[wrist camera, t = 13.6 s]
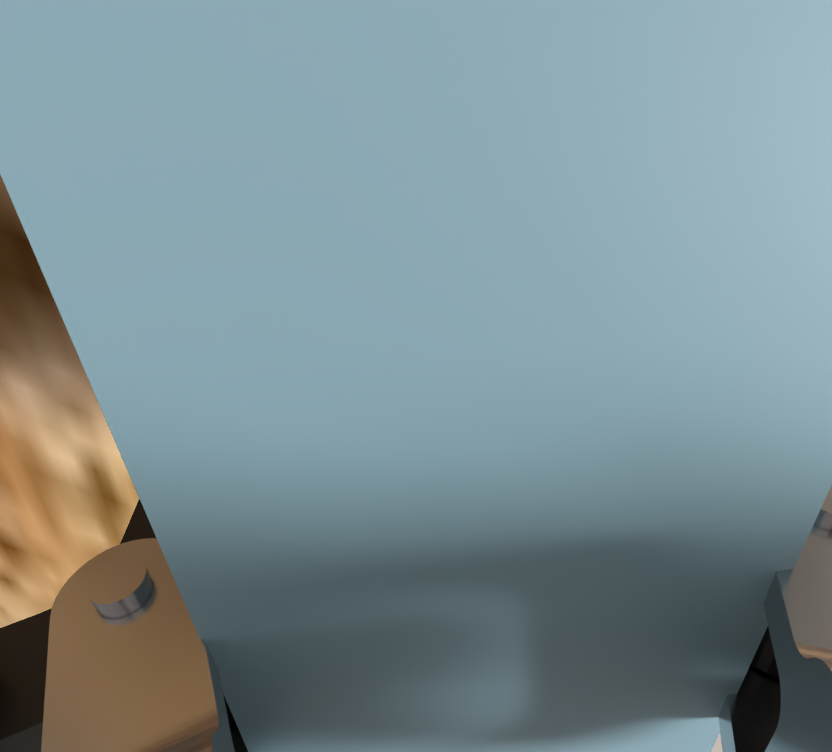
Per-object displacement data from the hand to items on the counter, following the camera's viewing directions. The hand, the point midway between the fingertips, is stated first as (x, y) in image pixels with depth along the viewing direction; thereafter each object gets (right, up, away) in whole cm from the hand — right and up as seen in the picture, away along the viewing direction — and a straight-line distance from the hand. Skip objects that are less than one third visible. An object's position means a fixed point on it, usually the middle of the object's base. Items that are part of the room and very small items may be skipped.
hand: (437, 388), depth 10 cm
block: (0, +1, +1) cm, 1 cm away
